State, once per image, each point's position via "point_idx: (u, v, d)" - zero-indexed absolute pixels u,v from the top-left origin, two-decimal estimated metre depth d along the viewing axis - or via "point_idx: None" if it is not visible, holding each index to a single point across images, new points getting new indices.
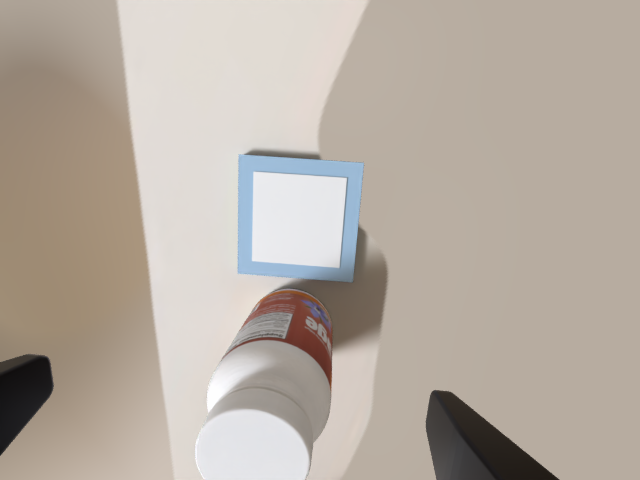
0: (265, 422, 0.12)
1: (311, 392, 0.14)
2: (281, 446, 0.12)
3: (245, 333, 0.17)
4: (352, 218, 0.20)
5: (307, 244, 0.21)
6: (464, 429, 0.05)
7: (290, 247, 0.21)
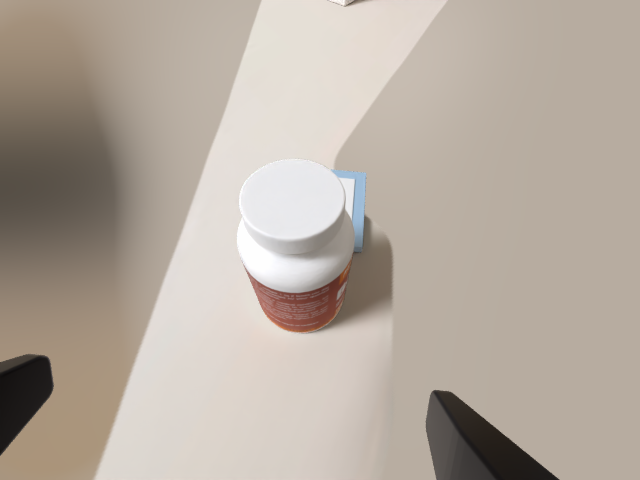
0: (308, 166, 0.14)
1: None
2: (320, 184, 0.14)
3: None
4: (359, 202, 0.26)
5: None
6: (464, 429, 0.05)
7: None
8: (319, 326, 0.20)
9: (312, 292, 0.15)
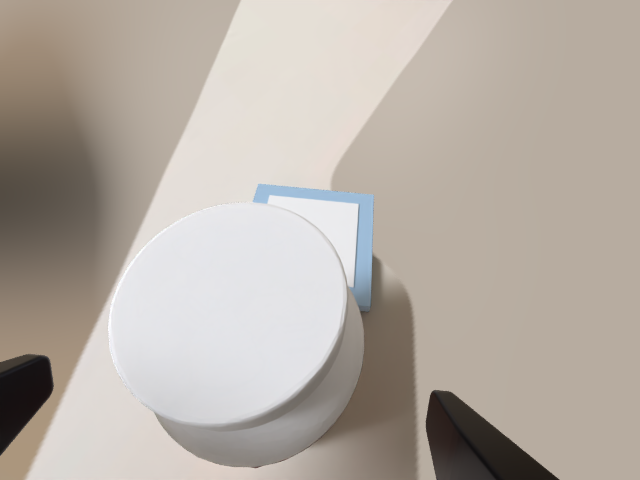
0: (272, 220, 0.07)
1: None
2: (294, 262, 0.06)
3: None
4: (365, 238, 0.19)
5: None
6: (464, 429, 0.05)
7: None
8: None
9: (283, 460, 0.08)
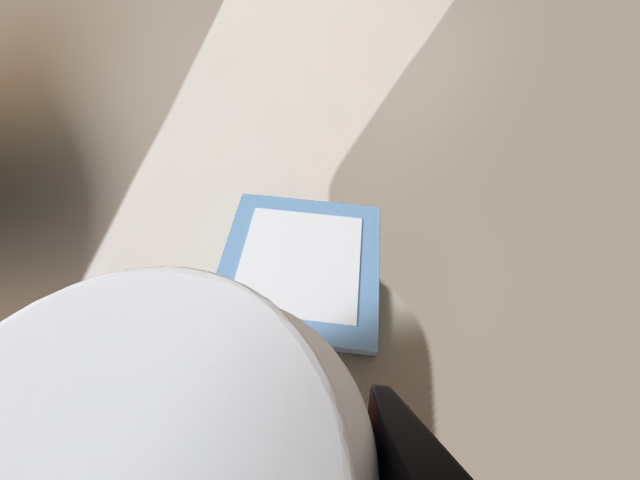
0: (207, 309, 0.04)
1: (333, 386, 0.05)
2: (241, 415, 0.03)
3: None
4: (371, 261, 0.16)
5: (310, 289, 0.15)
6: (388, 422, 0.05)
7: (285, 294, 0.15)
8: None
9: None
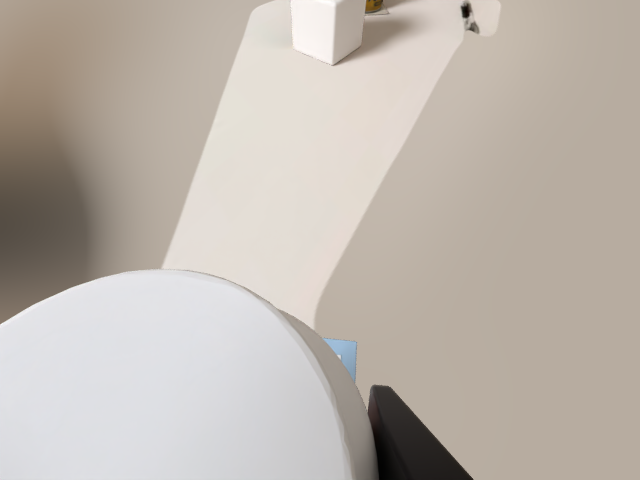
0: (206, 312, 0.04)
1: (333, 388, 0.05)
2: (242, 419, 0.03)
3: None
4: None
5: None
6: (388, 422, 0.05)
7: None
8: None
9: None
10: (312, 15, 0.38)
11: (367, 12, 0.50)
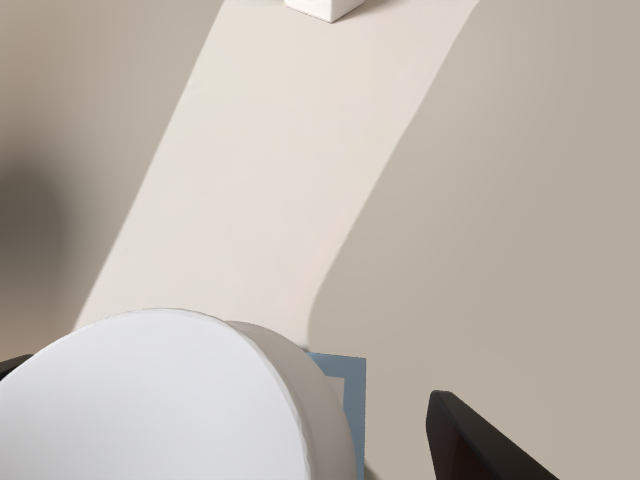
0: (197, 347, 0.04)
1: (315, 404, 0.06)
2: (224, 440, 0.04)
3: None
4: (354, 445, 0.13)
5: None
6: (464, 429, 0.05)
7: None
8: None
9: None
10: None
11: None
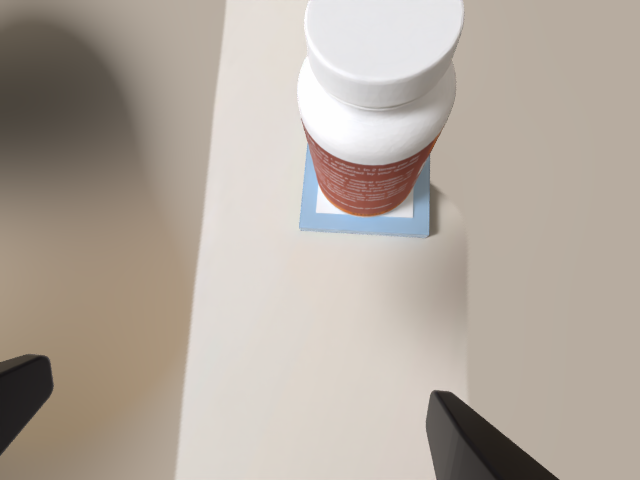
0: None
1: None
2: None
3: None
4: (423, 167, 0.20)
5: None
6: (464, 429, 0.05)
7: None
8: (390, 208, 0.18)
9: (400, 164, 0.12)
10: None
11: None
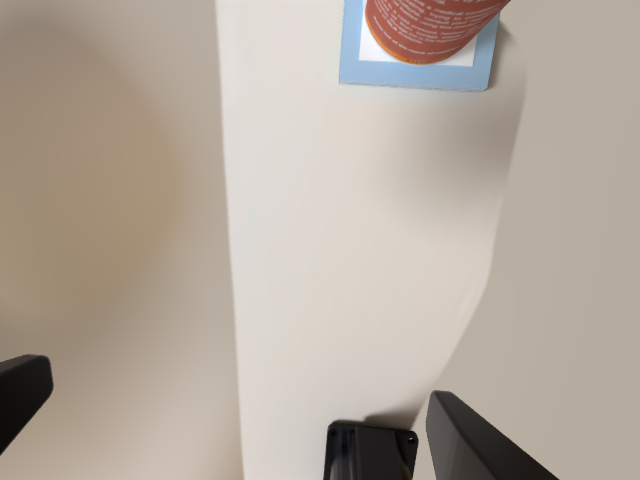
0: None
1: None
2: None
3: None
4: None
5: None
6: (464, 429, 0.05)
7: None
8: (452, 54, 0.15)
9: None
10: None
11: None
